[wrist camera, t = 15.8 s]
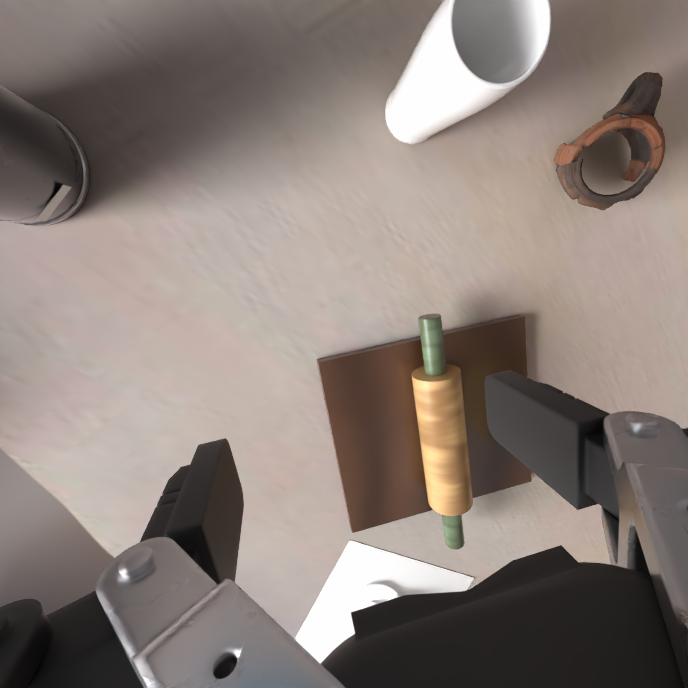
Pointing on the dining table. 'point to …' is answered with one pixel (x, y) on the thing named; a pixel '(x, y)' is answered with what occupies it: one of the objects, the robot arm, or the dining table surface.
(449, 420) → the rolling pin
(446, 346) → the pastry board
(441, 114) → the drinking glass
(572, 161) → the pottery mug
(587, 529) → the dining table surface
